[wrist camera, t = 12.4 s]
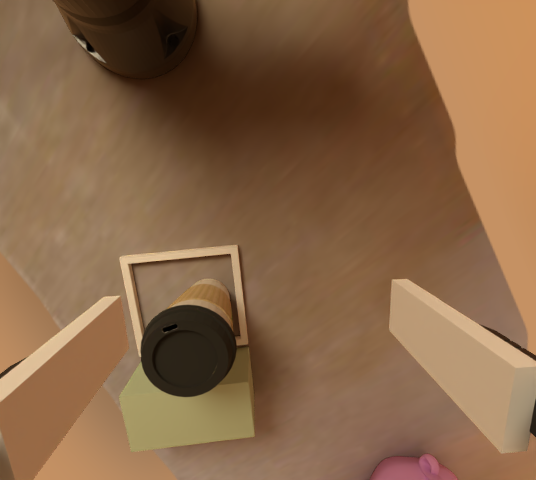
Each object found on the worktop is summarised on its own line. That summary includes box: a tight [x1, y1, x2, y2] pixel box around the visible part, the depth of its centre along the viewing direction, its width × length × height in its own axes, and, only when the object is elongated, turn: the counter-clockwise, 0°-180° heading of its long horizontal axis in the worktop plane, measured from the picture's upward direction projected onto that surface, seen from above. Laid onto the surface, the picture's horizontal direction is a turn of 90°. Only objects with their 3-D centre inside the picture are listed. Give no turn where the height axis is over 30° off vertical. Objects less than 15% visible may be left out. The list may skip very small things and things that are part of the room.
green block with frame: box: [119, 245, 255, 452], centre depth 39 cm, size 25×16×8 cm, turn 5°
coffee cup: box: [140, 279, 237, 397], centre depth 35 cm, size 10×10×15 cm
